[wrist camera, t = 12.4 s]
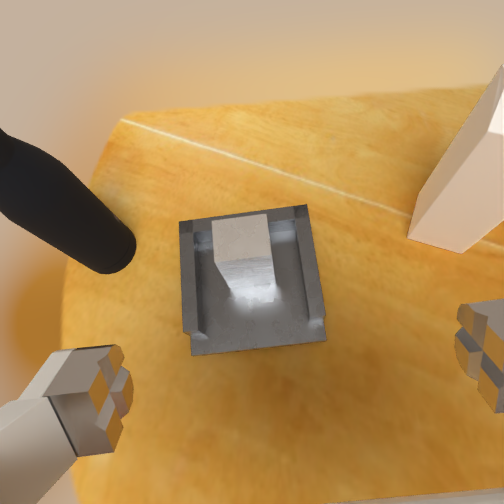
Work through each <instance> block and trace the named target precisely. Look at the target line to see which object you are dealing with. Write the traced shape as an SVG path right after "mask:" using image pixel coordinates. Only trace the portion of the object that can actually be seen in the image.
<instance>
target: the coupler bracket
mask: <svg viewBox="0 0 504 504" xmlns="http://www.w3.org/2000/svg"><path fill="white" fill-rule="evenodd" d="M259 214H266V215H267V222H268V229H269V236H270V243H271V250H272V258H273V266H274V274H275V282H276V283H270V284H262V285H254V286H246V287H238V288H230V287H229V286H228V284H227V282H226V281H225V279H224V277H223V276H222V274H221V272H220V271H219V269H218V268H217V266H216V264H215V263H214V249H213V235H212V221H214V220H222V219H229V218H237V217H244V216H252V215H259ZM179 237H180V264H181V291H182V318H183V332H184V333H186V334H188V335H189V336H191V356H202V355H211V354H219V353H228V352H237V351H245V350H254V349H263V348H271V347H280V346H289V345H298V344H306V343H315V342H324V341H326V340H327V339H326V333H325V327H324V321H323V320H324V318H325V316H326V313H325V307H324V302H323V296H322V290H321V284H320V278H319V272H318V267H317V261H316V255H315V249H314V243H313V237H312V231H311V226H310V220H309V214H308V208H307V204H305V205H298V206H291V207H283V208H276V209H269V210H261V211H254V212H247V213H239V214H232V215H224V216H217V217H210V218H202V219H195V220H188V221H180V222H179Z"/></svg>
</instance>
